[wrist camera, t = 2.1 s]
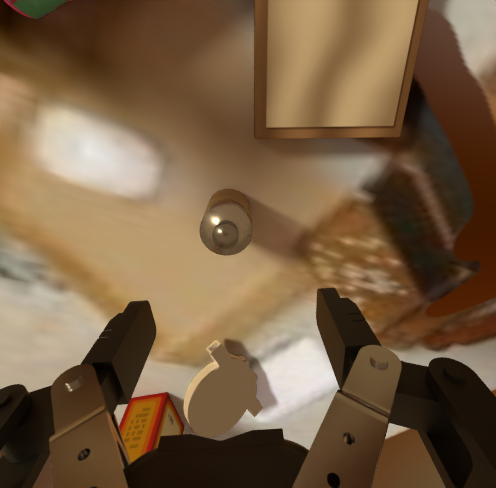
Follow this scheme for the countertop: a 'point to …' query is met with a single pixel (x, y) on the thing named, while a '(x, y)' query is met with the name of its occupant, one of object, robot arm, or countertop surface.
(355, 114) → the tray
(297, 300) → the countertop surface
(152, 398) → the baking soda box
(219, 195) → the weight
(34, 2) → the pencil case
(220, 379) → the grey-brown rounded piece
